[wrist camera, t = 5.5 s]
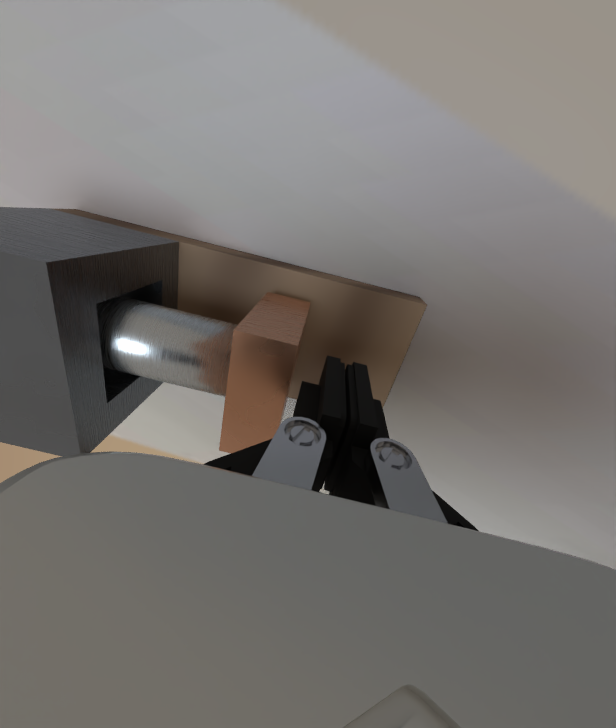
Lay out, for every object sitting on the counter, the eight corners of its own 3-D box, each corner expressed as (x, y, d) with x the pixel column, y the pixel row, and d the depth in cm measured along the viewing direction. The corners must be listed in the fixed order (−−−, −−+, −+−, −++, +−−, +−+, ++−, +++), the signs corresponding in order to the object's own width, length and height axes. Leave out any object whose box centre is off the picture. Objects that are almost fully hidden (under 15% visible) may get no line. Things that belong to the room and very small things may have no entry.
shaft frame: (419, 297, 15) (501, 376, 8) (374, 404, 18) (402, 535, 11) (76, 209, 15) (-198, 201, 7) (91, 335, 18) (-87, 421, 10)
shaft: (310, 302, 13) (298, 345, 9) (289, 392, 16) (270, 462, 11) (25, 230, 13) (-137, 238, 8) (46, 333, 15) (-74, 381, 11)
